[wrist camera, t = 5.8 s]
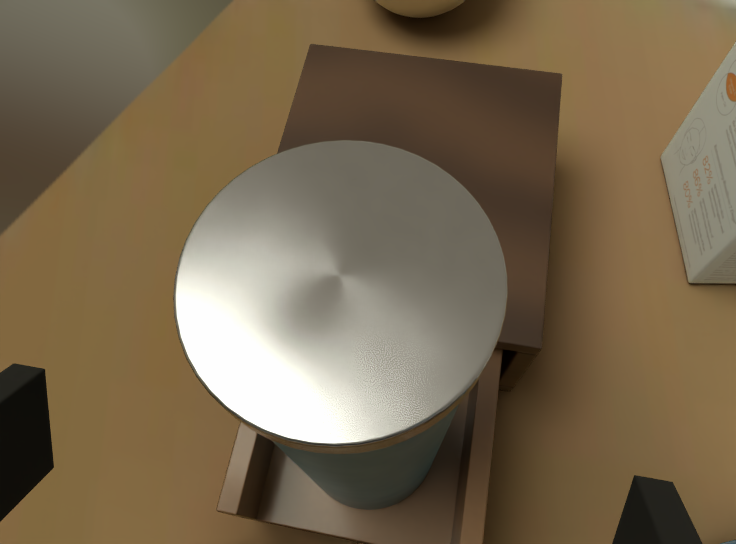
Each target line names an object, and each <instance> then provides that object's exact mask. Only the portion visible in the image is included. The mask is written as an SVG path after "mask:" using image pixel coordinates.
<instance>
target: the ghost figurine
mask: <svg viewBox="0 0 736 544" xmlns="http://www.w3.org/2000/svg"><path fill="white" fill-rule="evenodd" d="M375 1H376V2H377V3H378V4H380V5H381V6H383V7H384V8H386V9H388V10H389V11H391V12H394V13H396V14H399V15H402V16H407V17H414V18H424V17H432V16H436V15H440V14H443V13H445V12H448V11H450V10H452V9H454V8H455V7H457V6H459V5H460V4H462V3H463V2H464V1H465V0H375Z"/></svg>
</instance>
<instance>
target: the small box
mask: <svg viewBox="0 0 736 544" xmlns="http://www.w3.org/2000/svg"><path fill="white" fill-rule="evenodd" d="M661 162H662V166H663V170H664V174H665V179H666V183H667V188H668V193H669V197H670V201H671V206H672V210H673V215H674V219H675V224H676V228H677V233H678V237H679V241H680V246H681V250H682V255H683V259H684V264H685V268H686V273H687V278H688V282H689V283H736V42H735V44H734V45H733V47H732V48H731V50H730V51H729V53H728V54H727V56H726V57H725V59H724V60H723V62H722V63H721V65H720V67H719V68H718V69H717V71H716V73H715V74H714V76H713V77H712V79H711V80H710V82H709V83H708V85H707V86H706V88H705V89H704V91H703V92H702V94H701V95H700V97H699V99H698V100H697V102H696V103H695V105H694V106H693V108H692V109H691V111H690V112H689V114H688V116H687V117H686V118H685V120H684V121H683V123H682V124H681V126H680V128H679V129H678V131H677V132H676V134H675V135H674V137H673V138H672V140H671V141H670V143H669V144H668V146H667V147H666V149H665V150H664V152H663V153H662V155H661Z"/></svg>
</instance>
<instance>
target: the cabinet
mask: <svg viewBox="0 0 736 544" xmlns="http://www.w3.org/2000/svg"><path fill="white" fill-rule="evenodd" d="M561 85H562V74H561V73H552V72H544V71H535V70H527V69H518V68H510V67H502V66H493V65H485V64H476V63H468V62H459V61H451V60H442V59H434V58H426V57H417V56H409V55H400V54H392V53H383V52H375V51H366V50H358V49H350V48H341V47H333V46H324V45H316V44H310V47H309V50H308V53H307V57H306V60H305V63H304V67H303V70H302V73H301V76H300V80H299V83H298V86H297V90H296V93H295V96H294V100H293V103H292V106H291V109H290V113H289V116H288V119H287V123H286V126H285V129H284V133H283V136H282V139H281V142H280V146H279V149H278V152H277V154H278V153H281V152H283V151H285V150H289V149H292V148H296V147H299V146H303V145H307V144H313V143H318V142H324V141H338V140H352V141H367V142H373V143H380V144H385V145H389V146H392V147H396V148H400V149H403V150H405V151H408V152H410V153H413V154H416V155H418V156H420V157H422V158H424V159H426V160H428V161H430V162H432V163H434V164H435V165H437V166H438V167H440V168H441V169H443V170H444V171H446V172H447V173H448V174H450V175H451V176H452V177H454V178H455V179H456V180H457V181H458V182H459V183H460V184H461V185H463V186H464V187H465V188H466V189H467V190H468V192H469V193H470V194H471V195H472V196H473V197H474V198H475V200H476V201H477V202H478V203H479V205H480V206H481V208H482V209H483V211H484V212H485V214H486V215H487V217H488V218H489V220H490V222H491V224H492V226H493V228H494V230H495V232H496V234H497V236H498V239H499V242H500V245H501V248H502V252H503V255H504V259H505V265H506V271H507V284H508V298H507V307H506V315H505V320H504V323H503V327H502V331H501V335H500V338H499V340H498V342H497V345H496V347H495V348H499V349H503V351H502V361H501V371H500V380H499V390H504V391H511V390H512V389H513V387H514V386H515V384H516V383H517V382H518V380H519V379H520V377H521V376H522V375H523V373H524V372H525V371H526V369H527V368H528V367H529V365H530V364H531V363H532V361H533V360H534V358H535V357H536V356H537V354H538V353H539V352H540V350H541V349H542V342H543V328H544V315H545V301H546V288H547V274H548V261H549V247H550V234H551V220H552V207H553V193H554V180H555V166H556V153H557V139H558V126H559V112H560V99H561Z"/></svg>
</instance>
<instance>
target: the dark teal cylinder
mask: <svg viewBox="0 0 736 544" xmlns="http://www.w3.org/2000/svg"><path fill="white" fill-rule="evenodd" d="M507 298H508V284H507V271H506V265H505V259H504V255H503V252H502V248H501V245H500V242H499V239H498V236H497V234H496V232H495V230H494V228H493V226H492V224H491V222H490V220H489V218H488V217H487V215H486V214H485V212H484V211H483V209H482V208H481V206H480V205H479V203H478V202H477V201H476V200H475V198H474V197H473V196H472V195H471V194H470V193H469V192H468V190H467V189H466V188H465V187H464V186H463V185H461V184H460V183H459V182H458V181H457V180H456V179H455V178H454V177H452V176H451V175H450V174H448V173H447V172H446V171H444V170H443V169H441V168H440V167H438V166H437V165H435V164H434V163H432V162H430V161H428V160H426V159H424V158H422V157H420V156H418V155H416V154H413V153H410V152H408V151H405V150H403V149H400V148H396V147H392V146H389V145H385V144H380V143H373V142H367V141H352V140H338V141H324V142H318V143H313V144H307V145H303V146H299V147H296V148H292V149H289V150H285V151H283V152H281V153H278V154H276V155H273V156H271V157H268V158H266V159H265V160H263V161H261V162H259V163H257V164H255V165H254V166H252V167H250V168H249V169H247V170H246V171H244V172H243V173H241V174H240V175H239V176H237V177H236V178H234V179H233V180H232V181H231V182H230V183H229V184H227V185H226V186H225V187H224V188H223V189H222V190H221V191H220V192H219V193H218V194H217V195H216V196H215V197H214V198H213V199H212V201H211V202H210V203H209V204H208V205H207V206H206V208H205V209H204V210H203V212H202V213H201V215H200V216H199V218H198V219H197V221H196V222H195V224H194V226H193V228H192V230H191V231H190V233H189V235H188V237H187V239H186V242H185V244H184V247H183V250H182V253H181V255H180V258H179V262H178V267H177V271H176V276H175V284H174V297H173V301H174V317H175V323H176V328H177V332H178V337H179V340H180V343H181V346H182V348H183V351H184V354H185V357H186V359H187V361H188V363H189V364H190V366H191V368H192V370H193V372H194V373H195V375H196V377H197V378H198V380H199V381H200V382H201V383H202V385H203V386H204V387H205V389H206V390H207V391H208V393H209V394H210V395H211V396H212V397H213V398H214V399H215V400H216V401H217V402H218V403H219V404H220V405H221V406H222V407H223V408H224V409H225V410H227V411H228V412H229V413H230V414H231V415H232V416H233V417H235V418H236V419H237V420H239V421H240V422H241V423H243V424H244V425H246V426H247V427H248V428H250V429H251V430H253V431H254V432H256V433H258V434H260V435H262V436H264V437H266V438H268V439H270V440H272V441H273V442H274V443H275V444H276V445H277V446H278V447H279V448H280V449H281V450H282V451H283V452H284V453H285V454H286V455H287V456H288V457H289V458H290V459H291V460H292V461H293V462H294V463H295V464H297V465H298V466H299V467H300V468H301V469H302V470H303V471H304V472H305V473H306V474H307V475H308V476H309V477H310V478H311V479H312V480H313V481H314V482H315V483H316V484H317V485H318V486H319V487H320V488H321V489H322V490H324V491H325V492H326V493H327V494H328V495H329V496H330V497H332V498H333V499H335V500H336V501H338V502H340V503H342V504H344V505H347V506H349V507H353V508H357V509H365V510H373V509H381V508H386V507H389V506H392V505H394V504H397V503H399V502H400V501H402V500H404V499H405V498H407V497H408V496H409V495H411V494H412V493H413V492H414V491H415V490H416V489H417V488H418V487H419V485H420V484H421V483H422V482H423V480H424V479H425V477H426V475H427V473H428V471H429V469H430V467H431V465H432V463H433V460H434V458H435V456H436V454H437V452H438V449H439V447H440V445H441V443H442V441H443V439H444V436H445V434H446V432H447V430H448V428H449V426H450V423H451V421H452V419H453V417H454V415H455V412H456V410H457V408H458V406H459V404H460V403H461V402H462V401H463V399H464V398H465V397H466V396H467V394H468V393H469V392H470V391H471V390H472V388H473V387H474V386H475V384H476V383H477V381H478V379H479V378H480V376H481V375H482V373H483V371H484V370H485V368H486V366H487V364H488V362H489V360H490V358H491V356H492V354H493V352H494V349H495V347H496V345H497V342H498V340H499V338H500V335H501V331H502V327H503V323H504V320H505V315H506V307H507Z"/></svg>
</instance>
